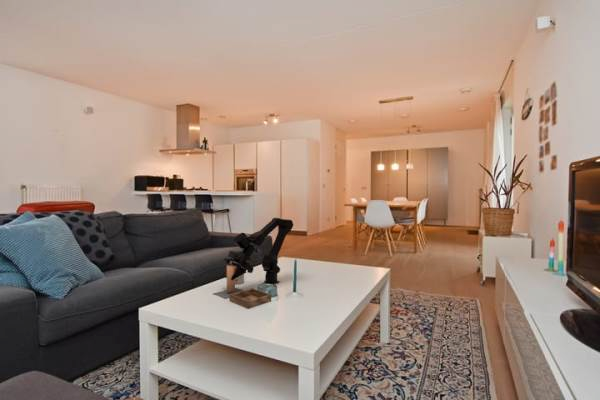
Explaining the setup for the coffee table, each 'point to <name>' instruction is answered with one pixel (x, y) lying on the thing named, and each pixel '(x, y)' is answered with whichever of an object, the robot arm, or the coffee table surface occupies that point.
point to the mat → (227, 293)
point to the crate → (250, 298)
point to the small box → (239, 278)
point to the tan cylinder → (229, 275)
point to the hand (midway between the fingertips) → (228, 278)
